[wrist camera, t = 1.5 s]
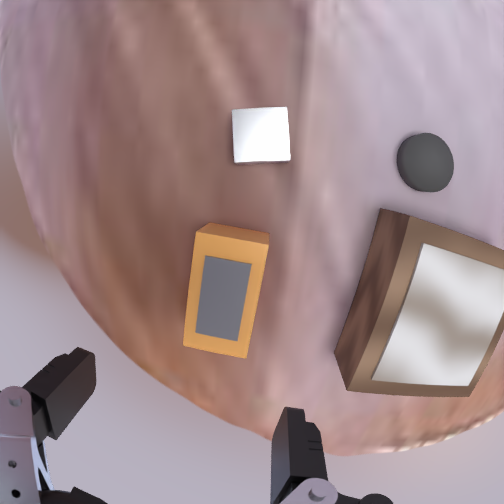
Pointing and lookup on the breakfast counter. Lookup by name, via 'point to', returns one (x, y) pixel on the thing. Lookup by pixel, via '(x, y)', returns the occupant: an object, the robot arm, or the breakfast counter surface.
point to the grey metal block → (261, 135)
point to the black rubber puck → (425, 162)
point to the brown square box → (422, 311)
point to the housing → (224, 288)
